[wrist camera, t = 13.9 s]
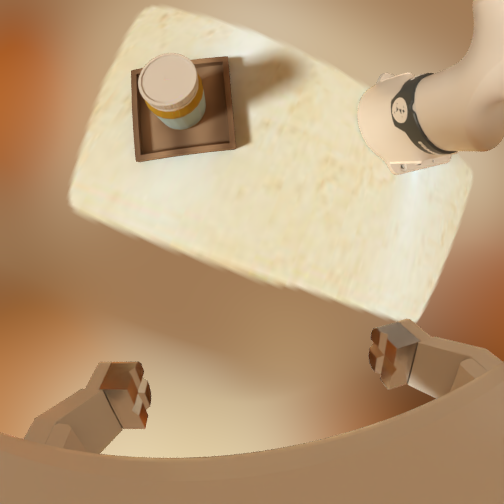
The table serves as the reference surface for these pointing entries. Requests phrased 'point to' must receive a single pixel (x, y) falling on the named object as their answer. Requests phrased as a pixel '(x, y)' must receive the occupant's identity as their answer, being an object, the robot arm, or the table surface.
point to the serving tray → (197, 137)
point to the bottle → (173, 90)
